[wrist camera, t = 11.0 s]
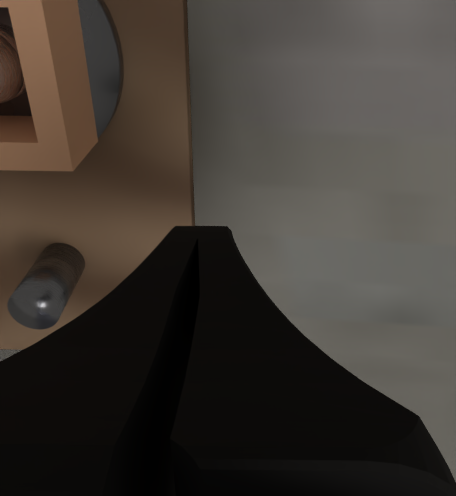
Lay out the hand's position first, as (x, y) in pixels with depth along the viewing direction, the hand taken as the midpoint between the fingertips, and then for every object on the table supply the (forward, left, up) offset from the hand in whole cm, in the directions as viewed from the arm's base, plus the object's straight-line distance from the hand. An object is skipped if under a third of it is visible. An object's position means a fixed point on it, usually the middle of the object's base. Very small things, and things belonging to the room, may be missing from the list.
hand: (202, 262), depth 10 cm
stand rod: (-8, -2, -8) cm, 12 cm away
